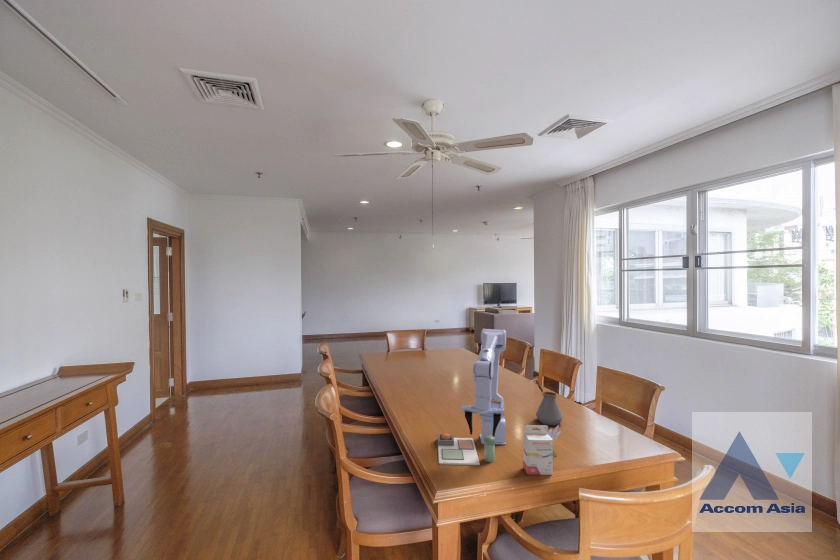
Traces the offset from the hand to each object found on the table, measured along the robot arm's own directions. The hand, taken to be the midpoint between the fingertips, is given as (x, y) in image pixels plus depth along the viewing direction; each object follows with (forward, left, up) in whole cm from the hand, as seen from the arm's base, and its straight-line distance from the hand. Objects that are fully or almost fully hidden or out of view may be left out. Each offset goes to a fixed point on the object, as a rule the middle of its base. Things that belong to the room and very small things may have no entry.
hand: (482, 434), depth 128 cm
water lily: (-25, -10, -10) cm, 29 cm away
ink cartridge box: (-18, +5, -10) cm, 21 cm away
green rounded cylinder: (-3, -2, -10) cm, 10 cm away
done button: (+12, -14, -8) cm, 20 cm away
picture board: (+8, -8, -10) cm, 15 cm away
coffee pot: (-35, -43, -10) cm, 56 cm away
